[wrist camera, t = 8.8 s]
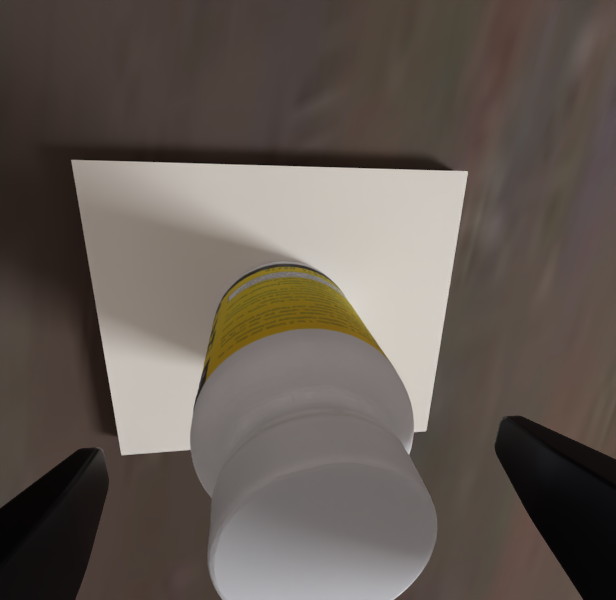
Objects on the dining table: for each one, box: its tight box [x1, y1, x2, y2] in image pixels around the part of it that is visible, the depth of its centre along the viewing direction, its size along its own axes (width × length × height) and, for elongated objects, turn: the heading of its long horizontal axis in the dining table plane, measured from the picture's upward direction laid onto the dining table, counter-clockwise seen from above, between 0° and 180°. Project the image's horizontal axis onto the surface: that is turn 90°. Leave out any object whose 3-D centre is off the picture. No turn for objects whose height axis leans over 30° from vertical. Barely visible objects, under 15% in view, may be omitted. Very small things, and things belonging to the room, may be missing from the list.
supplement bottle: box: [190, 261, 437, 600], centre depth 11 cm, size 5×5×10 cm
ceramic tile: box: [71, 160, 468, 455], centre depth 16 cm, size 14×12×1 cm
